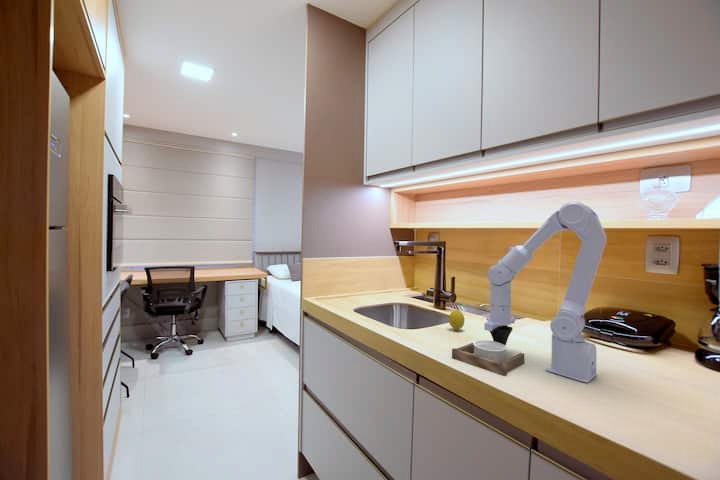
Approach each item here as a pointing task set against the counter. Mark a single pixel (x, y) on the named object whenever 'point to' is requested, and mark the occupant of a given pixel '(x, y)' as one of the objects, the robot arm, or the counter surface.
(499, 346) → the ramekin
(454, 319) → the lemon
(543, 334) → the counter surface
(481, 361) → the walnut rail
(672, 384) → the counter surface
